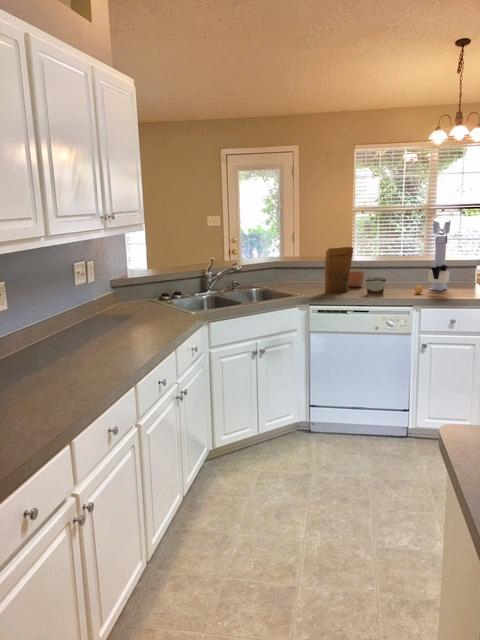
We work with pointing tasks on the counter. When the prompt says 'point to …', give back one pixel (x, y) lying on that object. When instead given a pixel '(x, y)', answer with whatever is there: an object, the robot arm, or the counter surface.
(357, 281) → the planter
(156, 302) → the counter surface
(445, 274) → the cream white block
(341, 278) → the pancake mix bag
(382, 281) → the food container
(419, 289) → the ball
